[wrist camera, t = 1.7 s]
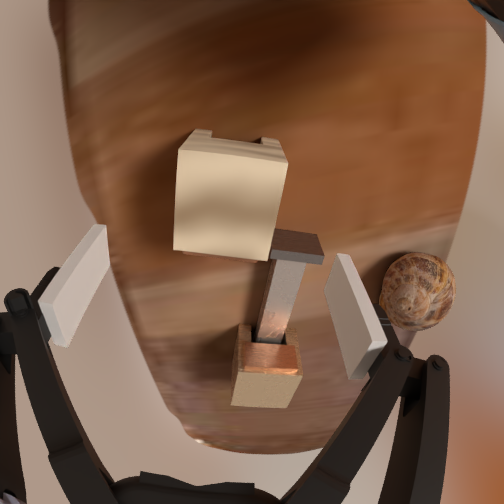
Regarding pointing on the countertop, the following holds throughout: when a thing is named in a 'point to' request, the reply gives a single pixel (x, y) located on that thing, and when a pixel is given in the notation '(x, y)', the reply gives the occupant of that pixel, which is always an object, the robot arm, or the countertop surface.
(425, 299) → the seashell
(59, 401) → the robot arm
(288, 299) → the rail
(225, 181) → the slotted tan cube
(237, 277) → the countertop surface
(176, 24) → the countertop surface
